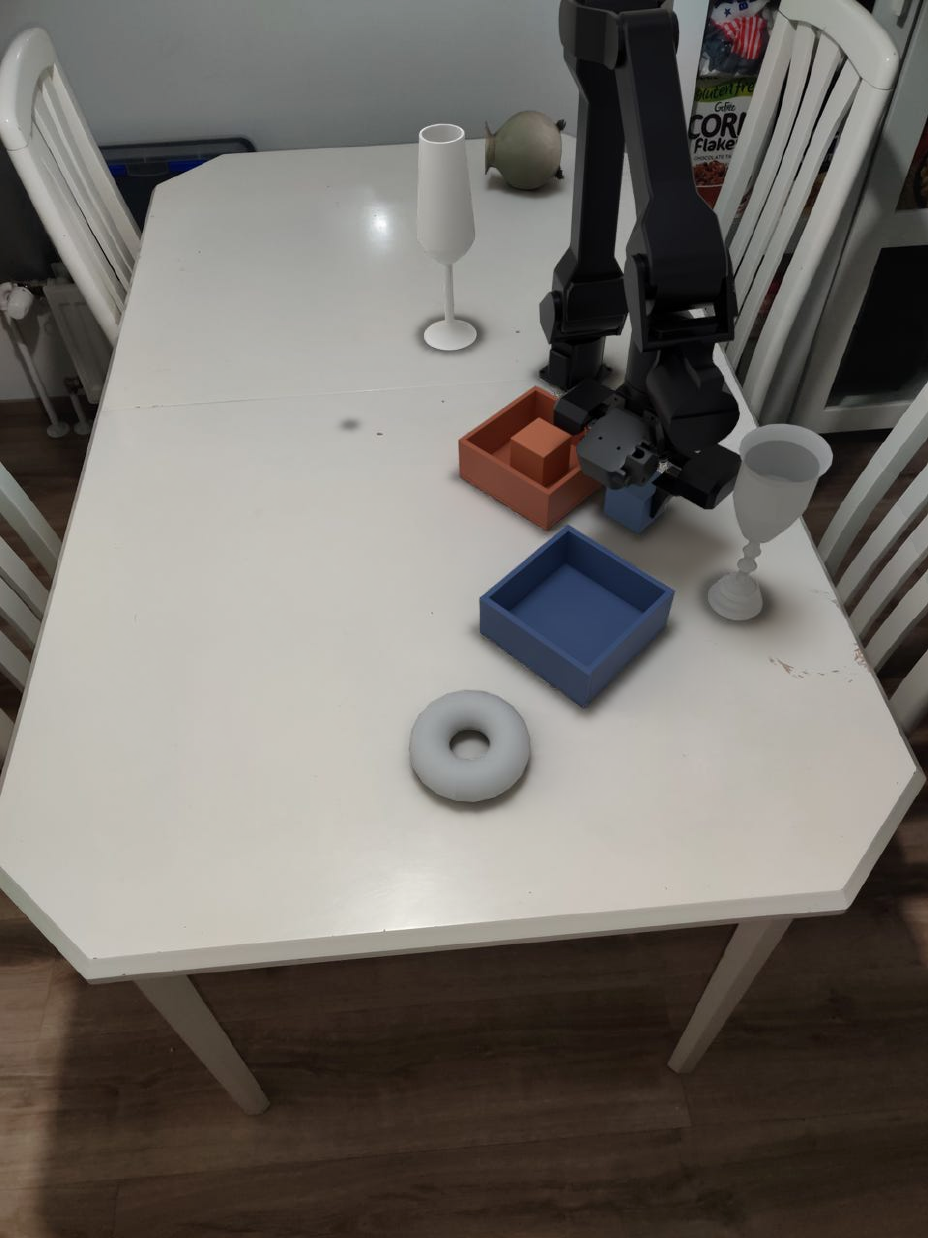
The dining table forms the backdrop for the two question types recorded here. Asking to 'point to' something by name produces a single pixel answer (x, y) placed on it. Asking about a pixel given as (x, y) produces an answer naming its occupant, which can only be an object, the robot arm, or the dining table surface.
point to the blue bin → (575, 613)
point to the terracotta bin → (491, 471)
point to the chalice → (768, 504)
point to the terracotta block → (540, 452)
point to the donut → (464, 774)
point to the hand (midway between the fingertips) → (634, 504)
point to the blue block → (632, 505)
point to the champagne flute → (445, 221)
